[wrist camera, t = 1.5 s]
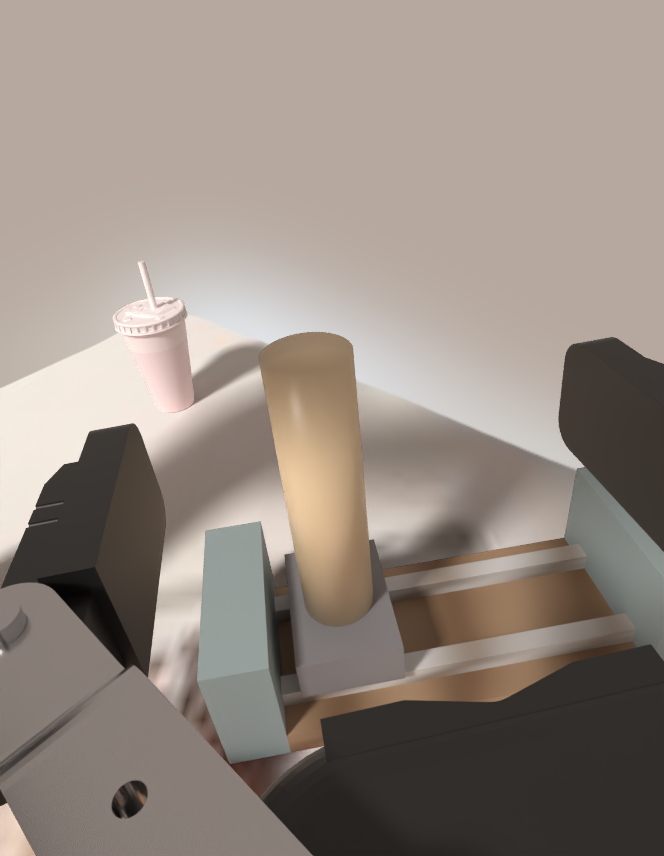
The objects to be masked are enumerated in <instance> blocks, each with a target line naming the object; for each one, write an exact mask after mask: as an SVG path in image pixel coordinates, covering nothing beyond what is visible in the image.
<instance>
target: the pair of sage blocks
mask: <svg viewBox="0 0 664 856" xmlns="http://www.w3.org/2000/svg"><path fill="white" fill-rule="evenodd" d="M564 538H565V540H566V541H567V543H568V544H569V545H574V544H579V545H580V547H581V548H582V550H583V551H584V553H585V554H586V556H587V558H586V562H585V567H584V569H585V570H586V572H587V573H588V575H589V576H590V578H591V579H592V581H593V582H594V584H595V585H596V587H597V588H598V590H599V591H600V593H601V594H602V596H603V598H604V599H605V601H606V602H607V604H608V605H609V607H610V608H611V610H612V611H613V613H614V614H615V615H617V614H623V613H626V615H627V616H628V618H629V619H630V621H631V622H632V624H633V625H634V627H635V628H636V631H635V635H634V638H633V641H632V642H633V643H634V645H635V646H636V647H641V646H645V645H650V644H651V645H652V646H653V647H654V649H655V650H656V651H657V653H658V654H659V655H660V657H661V658H662V659H663V661H664V552H663V551H662V550H661V549H660V548H659V546H658V545H657V544H656V543H655V542H654V541H653V540H652V539H651V538H650V537H649V536H648V535H647V533H646V532H645V531H644V530H643V529H642V528H641V527H640V526H639V525H638V524H637V523H636V521H635V520H634V519H633V518H632V517H631V516H630V515H629V514H628V513H627V512H626V511H625V510H624V508H623V507H622V506H621V505H620V504H619V503H618V502H617V501H616V500H615V499H614V498H613V496H612V495H611V494H610V493H609V492H608V491H607V490H606V489H605V488H604V487H603V486H602V485H601V483H600V482H599V481H598V480H597V479H596V478H595V477H594V476H593V475H592V474H591V473H590V471H589V470H588V469H587V468H586V467H584V468H577V471H576V477H575V482H574V488H573V493H572V499H571V504H570V510H569V515H568V520H567V526H566V531H565V537H564ZM274 597H276V588H275V584H274V579H273V575H272V570H271V566H270V561H269V557H268V553H267V548H266V544H265V539H264V535H263V530H262V526H261V521H260V522H254V523H248V524H242V525H236V526H230V527H224V528H218V529H212V530H206V532H205V550H204V568H203V586H202V604H201V621H200V639H199V657H198V675H197V682H198V685H199V687H200V690H201V692H202V695H203V698H204V700H205V703H206V705H207V708H208V710H209V713H210V715H211V718H212V720H213V723H214V725H215V728H216V731H217V733H218V736H219V738H220V741H221V743H222V746H223V748H224V751H225V753H226V756H227V758H228V761H229V762H230V761H231V762H230V763H231V764H232V763H233V762H234V761H237V762H236V763H238V762H239V761H241V762H242V761H243V760H244V759H245V761H248V760H251V759H259V758H264V757H269V756H274V755H280V754H285V753H290V752H291V750H290V747H289V743H288V739H287V733H286V720H285V706H284V702H283V699H282V694H281V680H280V676H282V667H281V654H280V640H279V627H278V620H277V616H276V611H275V598H274ZM243 757H244V758H243ZM257 757H259V758H257ZM231 758H232V759H231ZM235 758H236V759H235ZM250 758H251V759H250ZM238 759H239V760H238ZM233 760H234V761H233ZM232 761H233V762H232ZM234 763H235V762H234Z"/></svg>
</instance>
